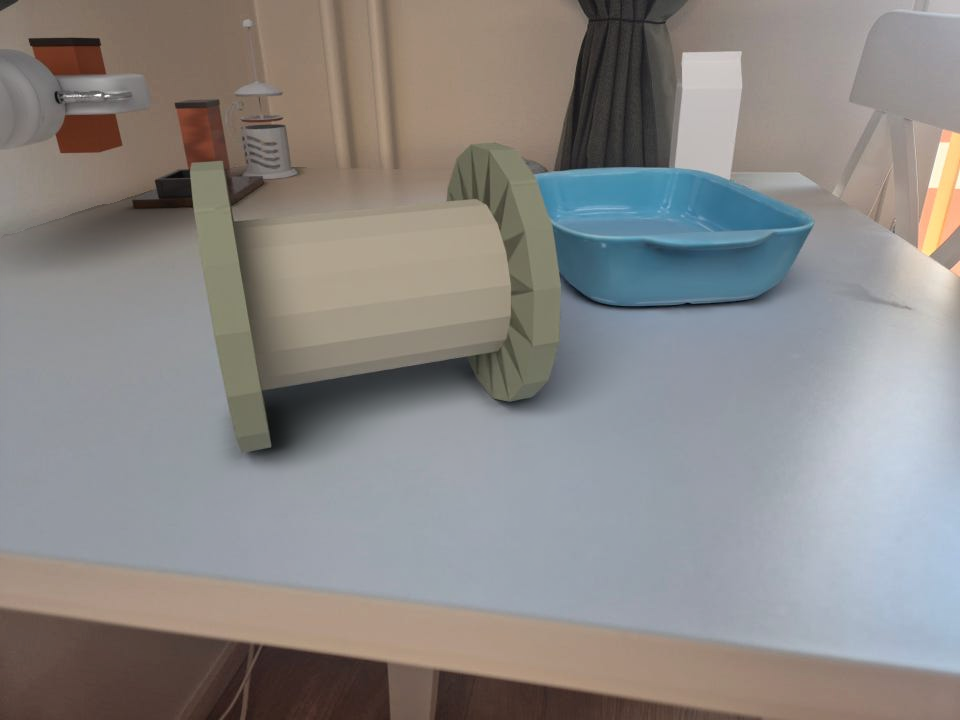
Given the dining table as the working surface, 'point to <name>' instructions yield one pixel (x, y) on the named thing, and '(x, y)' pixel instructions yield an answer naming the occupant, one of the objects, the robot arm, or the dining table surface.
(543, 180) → the casserole dish
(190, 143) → the pad dock
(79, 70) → the loose pad
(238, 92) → the french press
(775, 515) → the dining table surface
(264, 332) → the spool
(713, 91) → the milk carton
